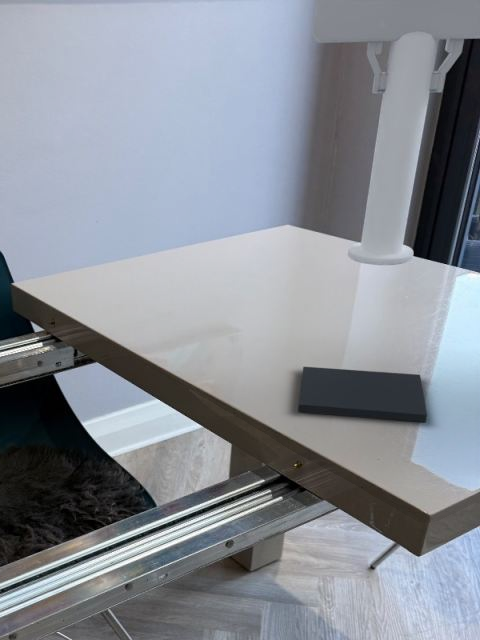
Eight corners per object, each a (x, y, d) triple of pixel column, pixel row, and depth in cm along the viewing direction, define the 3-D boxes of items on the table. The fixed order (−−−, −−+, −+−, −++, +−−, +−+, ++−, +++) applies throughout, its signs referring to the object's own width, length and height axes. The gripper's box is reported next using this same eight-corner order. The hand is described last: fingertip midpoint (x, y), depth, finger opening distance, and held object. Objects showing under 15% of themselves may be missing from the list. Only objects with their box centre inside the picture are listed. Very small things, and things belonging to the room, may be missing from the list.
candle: (382, 244, 93) (422, -8, 79) (426, 259, 88) (478, -9, 74) (334, 253, 91) (367, -4, 77) (377, 269, 85) (421, -5, 71)
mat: (418, 381, 97) (420, 374, 96) (425, 422, 88) (427, 414, 88) (302, 373, 100) (303, 366, 100) (298, 412, 91) (299, 404, 91)
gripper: (316, -71, 72) (300, 97, 80) (561, -87, 67) (519, 94, 75) (319, -69, 77) (304, 90, 85) (547, -83, 72) (509, 87, 80)
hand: (406, 92), depth 80 cm, fingers closed on candle, 4 cm apart
